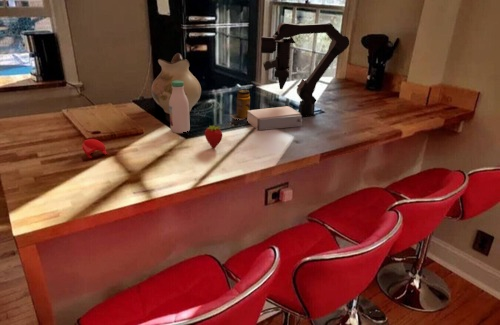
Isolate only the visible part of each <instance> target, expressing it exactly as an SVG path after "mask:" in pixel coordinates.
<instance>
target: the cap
mask: <svg viewBox="0 0 500 325" xmlns="http://www.w3.org/2000/svg"><path fill="white" fill-rule="evenodd" d="M82 142H83V143H82V146H81V148H82V151H83V152H84V153H85V154H86V156H87V157H88V158H89V159H90V158H91V159H93V156H92V155H91V153H92V154H93V152H94V153H95V152H96V151H98V152H101V153H102V154H104V155H105V156H107V155H108V154H107V151H106V145H105V144H104V143H103V142H102V141H100V140H98V139H95V138H90V139H89V138H88V139H85V140H84V141H82ZM85 154H84V155H85ZM106 154H107V155H106Z"/></svg>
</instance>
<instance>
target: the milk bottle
mask: <svg viewBox="0 0 500 325" xmlns="http://www.w3.org/2000/svg"><path fill="white" fill-rule="evenodd" d="M183 87H184V82H183V81H172V88H173V90H172V94H171V97H170V100H169V112H170V114H169V125H170V131H171V133H173V134H184V133H183V132H186V133H188V132H189V131H190V129H191V126H190V125H191V124H190V112H189V103H188V99H187V97H186V95H185V93H184V90H183ZM187 131H188V132H187Z"/></svg>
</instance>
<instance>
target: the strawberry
mask: <svg viewBox="0 0 500 325" xmlns="http://www.w3.org/2000/svg"><path fill="white" fill-rule="evenodd" d="M216 123H217V122H214V124H213V125H208V126H209V127H206V130H205V131H204V135H205V136H204V137H205V139H206V141H207V143H208V144H209V145H210V147H211V148H212V149H216V147H217V146H218V145H219V144H220V143H221V141H222V139H223V132H222V130H221V128H220V126H215V125H216Z"/></svg>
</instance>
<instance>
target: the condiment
mask: <svg viewBox="0 0 500 325" xmlns="http://www.w3.org/2000/svg"><path fill="white" fill-rule="evenodd" d="M248 110H251V96H250V90H249V89H239V90H237V96H236V114H230V115H229V117H230V118H233V119H234V120H236V119H237V121H241V120H246V119H245V118H247V114H248ZM239 118H240V119H239ZM238 119H239V120H238Z"/></svg>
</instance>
